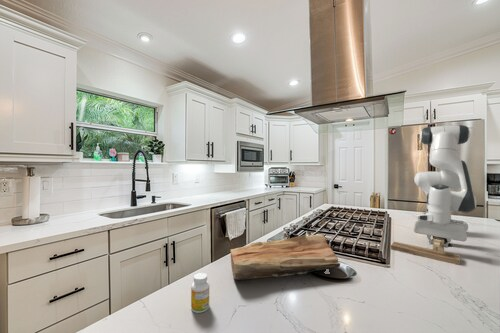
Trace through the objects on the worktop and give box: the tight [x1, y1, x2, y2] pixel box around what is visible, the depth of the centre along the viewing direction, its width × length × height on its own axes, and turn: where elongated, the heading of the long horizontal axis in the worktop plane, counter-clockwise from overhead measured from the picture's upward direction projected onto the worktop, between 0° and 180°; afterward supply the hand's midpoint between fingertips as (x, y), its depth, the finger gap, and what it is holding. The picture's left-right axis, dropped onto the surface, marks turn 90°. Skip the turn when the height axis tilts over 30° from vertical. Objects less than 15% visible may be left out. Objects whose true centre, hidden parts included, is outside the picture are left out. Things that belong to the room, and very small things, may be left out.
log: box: [230, 233, 342, 281], centre depth 91 cm, size 42×18×15 cm, turn 101°
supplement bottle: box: [190, 272, 210, 314], centre depth 69 cm, size 5×5×10 cm
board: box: [390, 241, 461, 266], centre depth 112 cm, size 8×26×2 cm, turn 47°
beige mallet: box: [432, 237, 445, 252], centre depth 111 cm, size 12×4×6 cm, turn 137°
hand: (438, 245), depth 113 cm, fingers closed on beige mallet, 4 cm apart
